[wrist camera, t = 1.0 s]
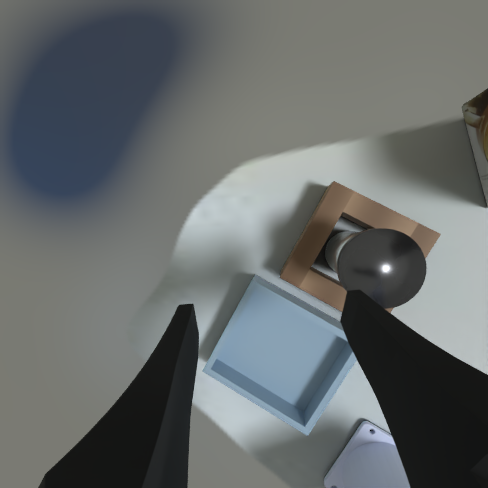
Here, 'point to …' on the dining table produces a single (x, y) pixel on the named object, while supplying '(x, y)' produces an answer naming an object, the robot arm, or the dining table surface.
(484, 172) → the coffee box
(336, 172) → the dining table surface
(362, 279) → the glass jar
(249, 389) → the slate-blue tray
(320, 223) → the wooden square frame
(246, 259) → the dining table surface
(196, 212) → the dining table surface
